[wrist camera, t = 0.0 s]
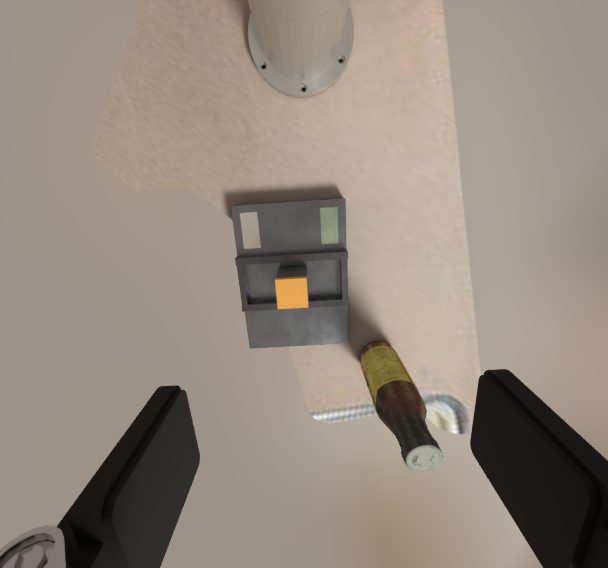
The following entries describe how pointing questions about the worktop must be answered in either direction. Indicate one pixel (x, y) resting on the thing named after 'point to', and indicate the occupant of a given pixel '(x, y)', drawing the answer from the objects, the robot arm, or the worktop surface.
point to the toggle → (292, 287)
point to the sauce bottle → (400, 406)
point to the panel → (291, 253)
